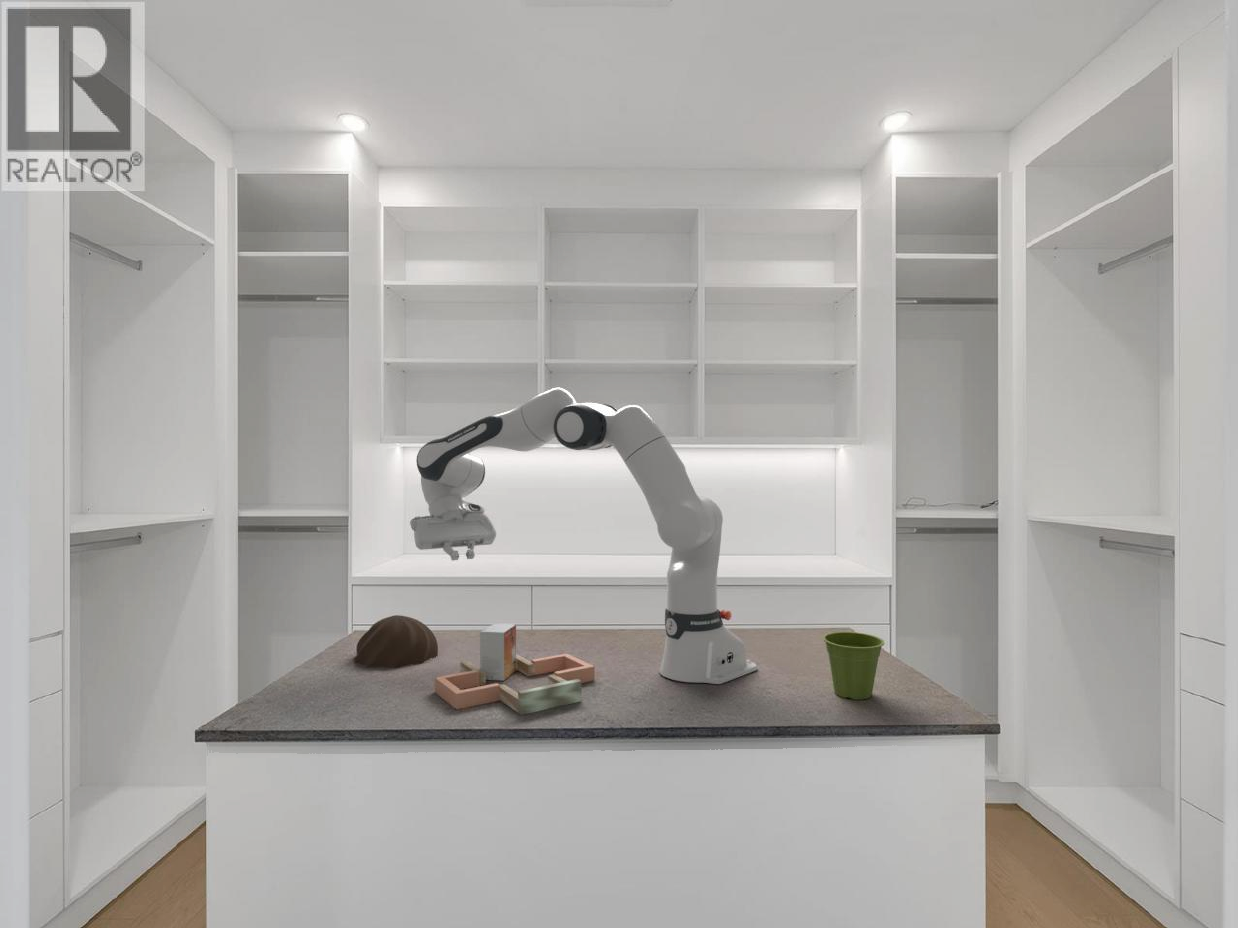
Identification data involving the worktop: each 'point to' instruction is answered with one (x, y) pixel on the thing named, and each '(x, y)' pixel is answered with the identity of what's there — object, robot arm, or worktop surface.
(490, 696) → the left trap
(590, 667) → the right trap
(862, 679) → the plant pot
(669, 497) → the robot arm
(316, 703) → the worktop surface
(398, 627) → the decorative dome
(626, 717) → the worktop surface
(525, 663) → the trap lane
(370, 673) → the worktop surface
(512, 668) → the small box
